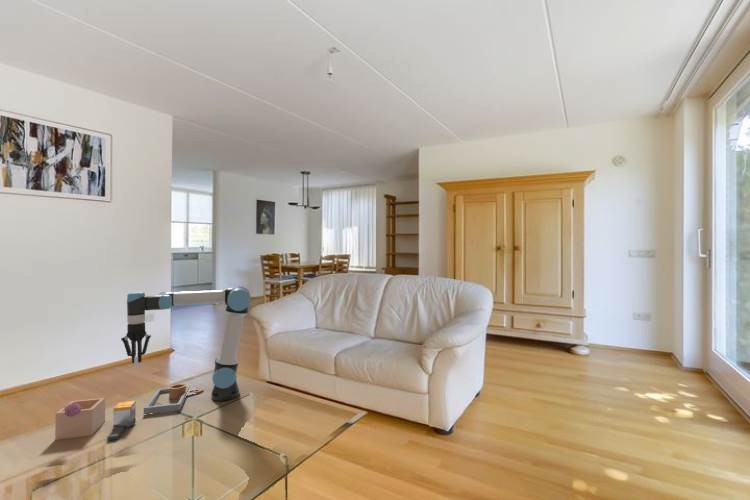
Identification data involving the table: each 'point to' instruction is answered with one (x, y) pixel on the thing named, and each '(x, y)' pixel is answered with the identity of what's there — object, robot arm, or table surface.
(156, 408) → the frame
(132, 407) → the orange-topped grey block
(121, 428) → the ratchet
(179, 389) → the brown long-handled pot
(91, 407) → the open pinkish beige box
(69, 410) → the artificial flower
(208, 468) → the table surface
